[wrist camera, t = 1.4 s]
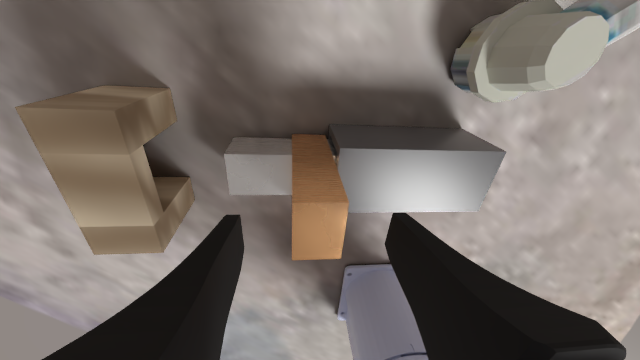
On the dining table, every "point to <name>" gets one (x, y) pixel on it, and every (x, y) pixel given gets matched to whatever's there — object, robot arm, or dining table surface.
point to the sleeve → (413, 168)
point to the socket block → (111, 165)
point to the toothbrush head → (539, 46)
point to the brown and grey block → (295, 187)
